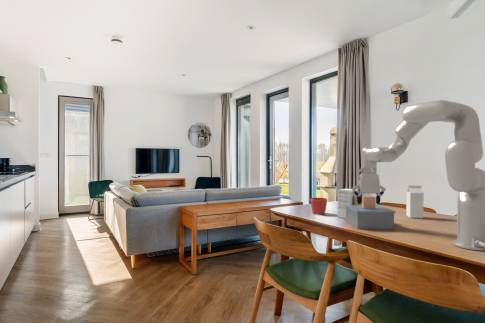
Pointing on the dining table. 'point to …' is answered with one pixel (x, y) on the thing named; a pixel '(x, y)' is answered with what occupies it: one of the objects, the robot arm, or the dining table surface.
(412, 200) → the milk carton
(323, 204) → the flower pot
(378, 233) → the dining table surface
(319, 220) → the dining table surface
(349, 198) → the supplement box
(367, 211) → the lid
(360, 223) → the storage box
